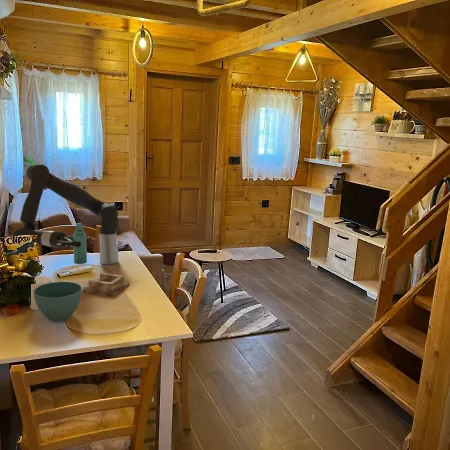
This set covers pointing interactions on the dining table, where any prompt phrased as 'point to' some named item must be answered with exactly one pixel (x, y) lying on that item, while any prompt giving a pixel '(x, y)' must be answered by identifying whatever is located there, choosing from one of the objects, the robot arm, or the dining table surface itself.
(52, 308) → the teal bowl
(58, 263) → the dining table surface
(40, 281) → the candle holder
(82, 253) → the bottle
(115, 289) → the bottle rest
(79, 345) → the dining table surface
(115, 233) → the robot arm
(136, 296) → the dining table surface
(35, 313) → the dining table surface
